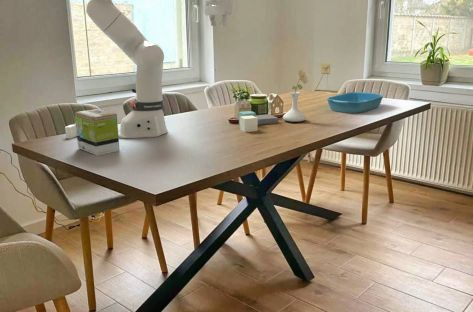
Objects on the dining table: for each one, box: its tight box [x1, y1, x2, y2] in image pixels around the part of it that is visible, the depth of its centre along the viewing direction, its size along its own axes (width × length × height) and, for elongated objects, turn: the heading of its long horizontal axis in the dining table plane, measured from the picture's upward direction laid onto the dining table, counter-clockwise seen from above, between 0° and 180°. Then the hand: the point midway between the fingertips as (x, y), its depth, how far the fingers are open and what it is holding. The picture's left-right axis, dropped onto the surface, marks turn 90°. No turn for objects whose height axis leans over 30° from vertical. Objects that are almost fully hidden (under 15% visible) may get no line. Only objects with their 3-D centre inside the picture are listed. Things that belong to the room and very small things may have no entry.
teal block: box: [238, 110, 257, 126], centre depth 227 cm, size 6×6×6 cm
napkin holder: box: [64, 123, 77, 139], centre depth 210 cm, size 15×11×6 cm
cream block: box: [239, 116, 258, 133], centre depth 216 cm, size 6×6×6 cm
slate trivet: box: [256, 113, 279, 125], centre depth 234 cm, size 10×10×2 cm
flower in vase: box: [282, 68, 309, 123], centre depth 233 cm, size 13×11×25 cm
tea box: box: [74, 108, 121, 157], centre depth 183 cm, size 15×10×15 cm, turn 45°
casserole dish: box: [326, 91, 384, 114], centre depth 266 cm, size 37×22×7 cm, turn 139°
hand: (218, 26), depth 212 cm, fingers open, 8 cm apart
